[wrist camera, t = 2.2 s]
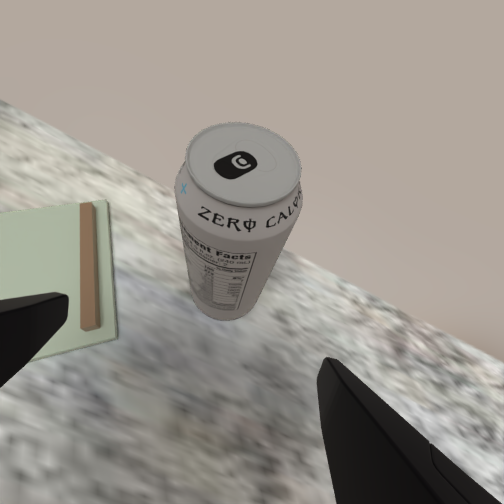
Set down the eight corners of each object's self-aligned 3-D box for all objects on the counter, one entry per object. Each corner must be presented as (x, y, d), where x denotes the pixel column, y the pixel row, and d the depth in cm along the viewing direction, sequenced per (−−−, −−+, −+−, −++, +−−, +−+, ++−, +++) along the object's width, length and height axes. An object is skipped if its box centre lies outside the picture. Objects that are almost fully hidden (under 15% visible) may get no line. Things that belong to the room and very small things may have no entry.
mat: (117, 338, 20) (111, 334, 19) (-121, 401, 16) (-151, 402, 15) (108, 203, 26) (102, 192, 25) (-67, 226, 22) (-85, 214, 21)
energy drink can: (270, 295, 24) (343, 174, 11) (219, 338, 21) (235, 245, 8) (230, 250, 25) (252, 101, 13) (178, 285, 23) (139, 140, 10)
